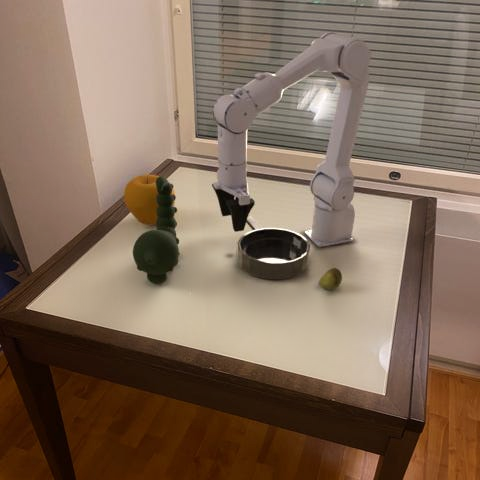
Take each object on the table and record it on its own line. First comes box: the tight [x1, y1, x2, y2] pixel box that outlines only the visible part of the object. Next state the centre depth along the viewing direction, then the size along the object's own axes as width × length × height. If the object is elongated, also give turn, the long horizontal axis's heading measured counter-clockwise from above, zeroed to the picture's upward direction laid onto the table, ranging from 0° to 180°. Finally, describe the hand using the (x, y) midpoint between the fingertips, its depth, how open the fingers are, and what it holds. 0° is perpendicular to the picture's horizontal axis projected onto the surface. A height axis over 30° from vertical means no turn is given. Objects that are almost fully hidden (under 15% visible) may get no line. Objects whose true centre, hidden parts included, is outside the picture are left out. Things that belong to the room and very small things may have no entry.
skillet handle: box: [246, 215, 264, 235], centre depth 120 cm, size 2×8×1 cm, turn 21°
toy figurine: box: [132, 175, 181, 284], centre depth 107 cm, size 9×19×25 cm
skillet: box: [236, 227, 311, 280], centre depth 113 cm, size 16×16×4 cm
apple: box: [123, 174, 176, 226], centre depth 127 cm, size 13×13×11 cm
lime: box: [318, 267, 343, 291], centre depth 104 cm, size 4×5×5 cm
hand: (232, 222), depth 108 cm, fingers open, 7 cm apart
